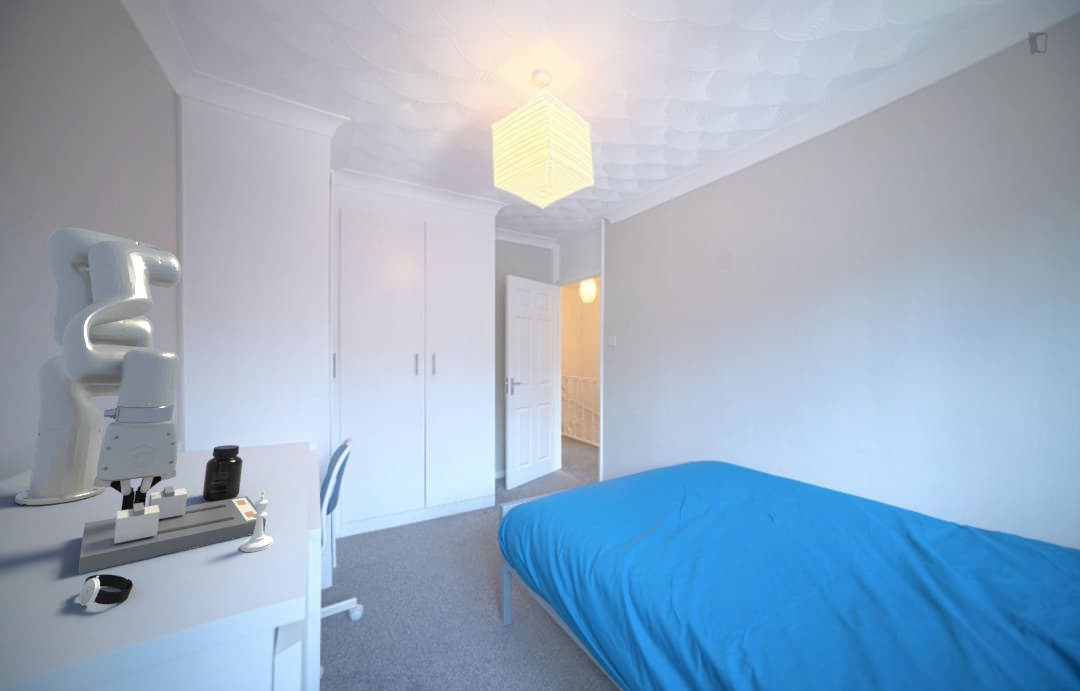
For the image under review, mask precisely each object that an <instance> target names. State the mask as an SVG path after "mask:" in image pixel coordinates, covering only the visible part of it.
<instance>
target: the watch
mask: <svg viewBox="0 0 1080 691" xmlns="http://www.w3.org/2000/svg"><path fill="white" fill-rule="evenodd" d="M133 586H134V584H133V580H131V579H130V578H128V579H127V578H126V577H123V576H120V575H116V574H108V573H107V574H106V573H105V574H104V573H103V574H94V575H93V574H92V575H91V576H90V575H89V576H87V577H86V579H85V580H84V583H83V587H82V588H81V590H80V593H79V604H80V605H81V606H90V605H91V604H92V603H93V604H99V605H116V604H119V603H123V602H124V601H126V600H127V599H129V596H130V594H131V591H132V589H133ZM101 587H104V588H105V587H106V588H112V589H117V590H119V591H117V590H116V591H109V590H103V589H101Z"/></svg>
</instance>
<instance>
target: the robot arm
mask: <svg viewBox="0 0 1080 691" xmlns="http://www.w3.org/2000/svg"><path fill="white" fill-rule="evenodd" d="M46 243H47V245H46V256H47V260H48V263H49V267H50V270H51V272H52V275H53V278H54V280H55V284H56V297H55V307H54V315H53V316H54V319H53V320H54V321H53V339H54V341H55V342H56V343H57V344H58V345H59V346H61V347H62V355H57V356H54V357H53V356H52V357H50V358H48V359H46V360H44V361H43V362H42V363H41V364H40V366H39V367H38V371H37V380H38V382H37V383H38V389H39V390H38V391H39V411H38V412H39V413H38V418H37V419H38V420H37V428H36V436H35V444H34V450H33V456H32V463H31V470H30V476H29V477H30V478H29V484H28V490H27V489H26V490H25V491H22V492H19V493H18V494H16V496H15V497H14V498H15V499H14V502H15V503H16V504H18V505H23V504H26V505H25V506H38V505H39V506H44V505H56V504H61V503H69V502H73V501H74V502H75V501H79V500H83V499H86V498H87V499H88V498H91V497H94V496H97V495H98V494H101V493H103V491H105V489H106V488H112V489H114V490H116V491H117V492H118V493H120V494H121V495H122V501H121V508H120V511H122V510H129V509H133V506H134V504H137V503H144V507H146V500H147V493H148V492H149V491H150V490H151V489H152V488H153V487H155V486H156V485H157V484H159V483H160V482H161V481H167V480H169V479H173V478H175V477H176V476H177V471H176V467H177V463H178V455H179V454H178V452H179V426H178V421H177V420H175V419H173V414H174V407H175V406H174V404H175V396H176V389H177V381H178V374H179V366H180V356H179V355H178V354H177V353H176V352H174V351H170V350H164V349H162V348H157V347H155V329H154V325H153V323H152V322H151V320H150V319H149V318H148V317H146V316H145V315H146V314H148V313H150V311H152V309H153V307H154V300H153V296H152V290H151V286H152V287H158V288H165V289H171V288H173V287H175V286H176V285H177V284H179V282H181V281H180V280H181V279H182V266H181V263H180V261H179V259H178V257H176V255H174V254H173V253H172V252H170V251H168V250H165V249H163V248H161V247H159V246H156V245H153V244H150V243H146V242H143V241H138V240H133V239H129V238H125V237H121V236H118V235H113V234H108V233H105V232H101V231H97V230H91V229H87V228H82V227H81V228H80V227H71V226H67V227H58V228H55V229H54V230H53V231H52V232H51V233H50V235H49V237H48V240H47V242H46ZM116 396H117V403H116V405H117V406H116V407H114V408H110V409H104V412H103V411H102V409H101V408H100V407H99V406H98V405H97V404H96V403H94V402H93V401H92V400H91V398H96V397H97V398H98V397H99V398H100V397H116ZM105 418H110V419H113V420H114V421H113V422H110V423H109V424H108V425H107V428H106V430H105V432H104V431H103V430H104V424H105ZM103 432H104V434H103ZM103 435H104V436H103ZM102 438H103V439H102ZM134 479H135V480H136V479H141V482H140V485H139V486H138V487H137V488H136V490H134V487H132V481H131V480H134Z"/></svg>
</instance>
